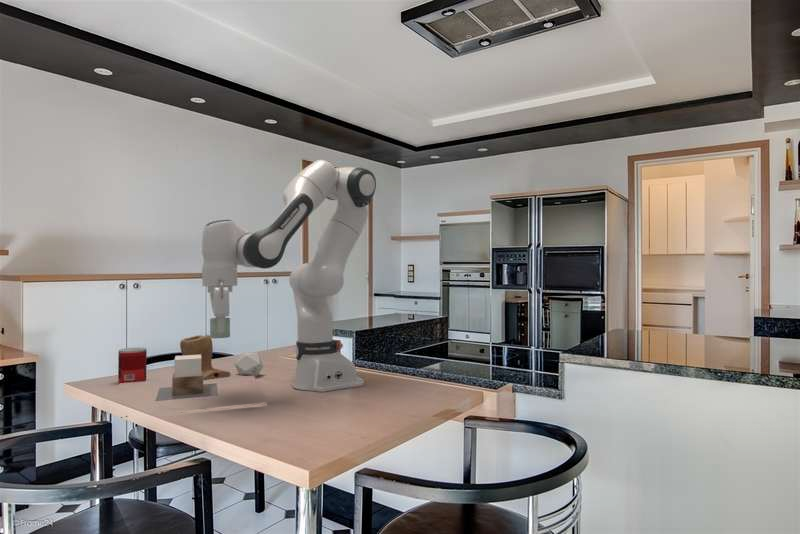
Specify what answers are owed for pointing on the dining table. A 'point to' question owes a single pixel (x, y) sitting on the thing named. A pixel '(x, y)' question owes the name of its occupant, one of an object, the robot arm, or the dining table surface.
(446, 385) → the dining table surface
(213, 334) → the sage cylinder
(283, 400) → the dining table surface
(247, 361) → the die
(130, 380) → the red box
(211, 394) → the slate coaster
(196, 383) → the walnut block
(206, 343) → the tan boot
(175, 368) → the cream block
